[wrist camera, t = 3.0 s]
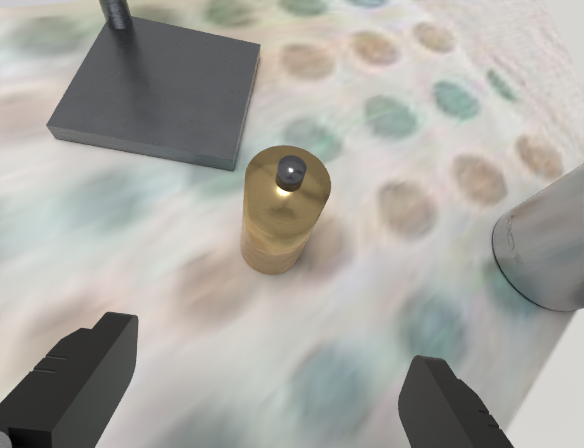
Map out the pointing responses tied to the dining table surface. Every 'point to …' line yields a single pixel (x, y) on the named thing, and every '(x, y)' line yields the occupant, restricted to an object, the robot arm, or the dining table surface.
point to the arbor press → (159, 91)
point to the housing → (281, 206)
